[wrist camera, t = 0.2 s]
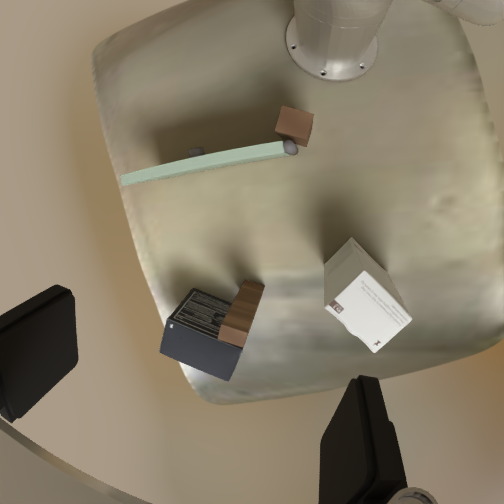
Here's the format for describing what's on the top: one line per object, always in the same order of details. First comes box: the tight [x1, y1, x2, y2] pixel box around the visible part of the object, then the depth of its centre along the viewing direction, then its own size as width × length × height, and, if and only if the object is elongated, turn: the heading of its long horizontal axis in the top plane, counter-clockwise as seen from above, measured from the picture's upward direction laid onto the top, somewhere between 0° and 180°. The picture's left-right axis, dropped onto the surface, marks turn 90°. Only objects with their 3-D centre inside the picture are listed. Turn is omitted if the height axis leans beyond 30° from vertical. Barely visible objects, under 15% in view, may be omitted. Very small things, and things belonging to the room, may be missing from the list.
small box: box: [159, 288, 243, 381], centre depth 45 cm, size 11×6×10 cm, turn 70°
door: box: [120, 140, 298, 186], centre depth 37 cm, size 19×3×12 cm, turn 100°
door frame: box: [218, 106, 314, 347], centre depth 38 cm, size 25×3×14 cm, turn 165°
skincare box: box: [324, 237, 412, 353], centre depth 38 cm, size 8×6×15 cm
